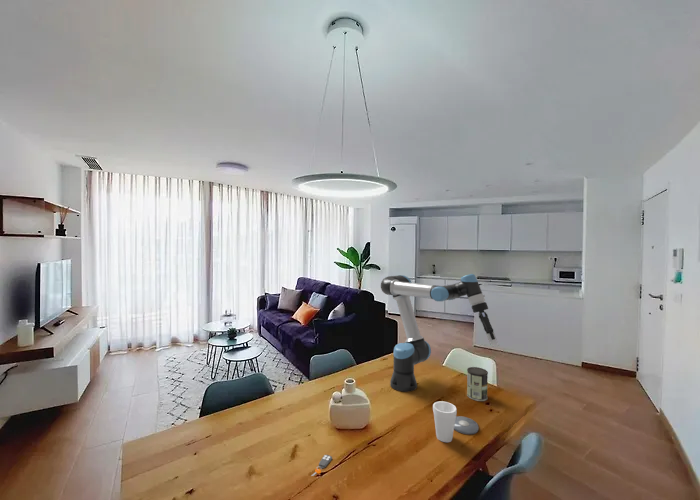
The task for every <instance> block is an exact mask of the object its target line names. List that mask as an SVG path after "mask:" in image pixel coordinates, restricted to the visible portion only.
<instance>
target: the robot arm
mask: <svg viewBox="0 0 700 500" xmlns="http://www.w3.org/2000/svg"><path fill="white" fill-rule="evenodd" d="M380 290H381V292H382V293H384V294H385V295H388V296H392V299H394V300H395V301H396V303H397V304H396V305H397V307H398V312H399V315H400V319H401V323H402V326H403V330H404V333H405V337H406V339H405V341H404V342H400V343H397V344H395V346H394V347H393V353H392V354H393V372H392V375H391V379H390V380H389V381H390V382H389V385H390V387H391V388H392V389H393V390H395V391H399V392H413V391H415V390H417V388H418V383H417V382H418V381H417V379H416V375H415V365H417V364H421V363H422V362H425V361H427V360H428V359H429V358H430V356H431V353H432V350H431V349H432V347H431V346H430V344H429V343H428V342H427V341H426V340H425V337H424V336H422V335H421V333H420V329H419V325H418V322H417V318H416V315H415V312H414V308H413V304H412V300H411V297H416V298H423V299H430V300H434V301H435V302H444V301H451V300H452V301H453V300H456V299H458V298H461V297H463V296H467V300H468V301H469V304H470V306H471V309H472V312H473V314H474V313H478V319H480V323H481V324H482V326H483V331H484V332H485V334H486V336H487V339H488V342H489V344H490V345H492V347H493V348H496V347H499V346H500V344H499V341H498V339H497V337H496V334H495V331H494V328H493V327H492V325H491V322H490V319H489V316H488V313H487V312H486V311H485V310H488V309H489V307H488V304H487V302H486V299H485V297H486V296H485V294H483V292H482V289H481V286H480V284H479V280H478V278H477V277H476V274H474V273H470V274H466V275H464V276H461V277H460V281H458V282H456V283H453V284H448V285H447V284H446V285H433V284H428V283H427V284H426V283H418V282H417V283H416V282H412V279H410V278H409V276H406V275H391V276H389V275H388V276H385V277H384V278H383V279H382V280H381V282H380Z"/></svg>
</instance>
